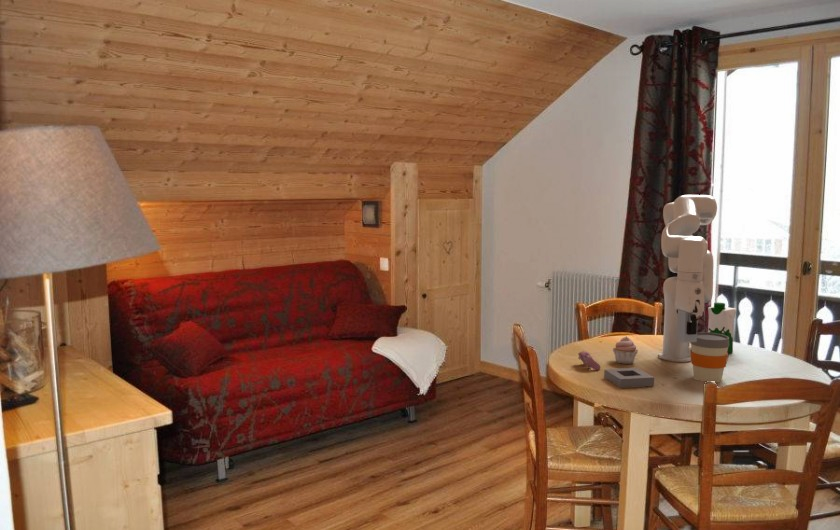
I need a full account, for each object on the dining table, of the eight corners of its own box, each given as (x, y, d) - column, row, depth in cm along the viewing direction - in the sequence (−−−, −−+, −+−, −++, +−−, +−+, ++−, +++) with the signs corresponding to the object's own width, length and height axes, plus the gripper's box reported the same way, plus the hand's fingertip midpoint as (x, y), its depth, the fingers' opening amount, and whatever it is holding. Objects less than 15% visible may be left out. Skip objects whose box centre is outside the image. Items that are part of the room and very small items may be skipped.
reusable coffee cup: (708, 385, 228) (710, 341, 226) (680, 375, 240) (682, 334, 238) (735, 381, 233) (738, 338, 231) (706, 372, 245) (709, 331, 243)
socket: (636, 376, 239) (636, 367, 239) (653, 386, 227) (654, 377, 227) (604, 377, 237) (604, 369, 237) (620, 387, 225) (620, 379, 225)
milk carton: (703, 351, 275) (705, 302, 272) (716, 348, 280) (719, 300, 277) (723, 355, 267) (726, 305, 265) (736, 352, 272) (739, 303, 270)
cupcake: (624, 366, 251) (625, 340, 250) (606, 360, 260) (607, 335, 258) (643, 363, 256) (644, 337, 254) (625, 358, 264) (626, 332, 263)
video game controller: (582, 367, 256) (574, 351, 255) (592, 362, 256) (585, 345, 255) (591, 375, 246) (583, 358, 245) (602, 369, 246) (594, 352, 245)
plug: (688, 338, 225) (690, 308, 223) (696, 341, 220) (698, 311, 219) (676, 339, 224) (678, 309, 223) (684, 342, 220) (685, 311, 218)
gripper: (716, 280, 212) (712, 338, 214) (685, 273, 228) (682, 326, 231) (694, 280, 211) (691, 339, 213) (665, 273, 227) (662, 327, 229)
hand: (686, 331), depth 222 cm, fingers closed on plug, 4 cm apart
